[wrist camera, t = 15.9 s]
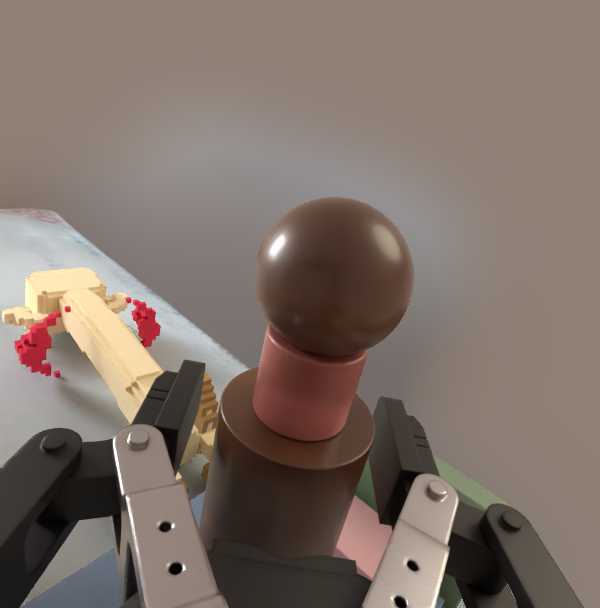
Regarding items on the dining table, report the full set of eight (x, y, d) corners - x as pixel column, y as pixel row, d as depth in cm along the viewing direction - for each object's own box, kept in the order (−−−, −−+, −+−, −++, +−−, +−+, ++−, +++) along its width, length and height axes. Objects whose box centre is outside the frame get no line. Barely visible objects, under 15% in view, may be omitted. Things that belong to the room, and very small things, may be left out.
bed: (-95, 730, 15) (-140, 577, 12) (277, 472, 29) (303, 368, 26) (77, 1292, 9) (80, 1294, 6) (449, 620, 23) (513, 506, 19)
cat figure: (259, 478, 30) (105, 291, 44) (293, 374, 26) (112, 206, 40) (107, 558, 23) (-17, 307, 37) (120, 434, 19) (-24, 206, 33)
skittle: (159, 611, 17) (215, 173, 10) (248, 540, 20) (334, 176, 14) (241, 723, 14) (385, 243, 8) (327, 621, 18) (478, 226, 11)
